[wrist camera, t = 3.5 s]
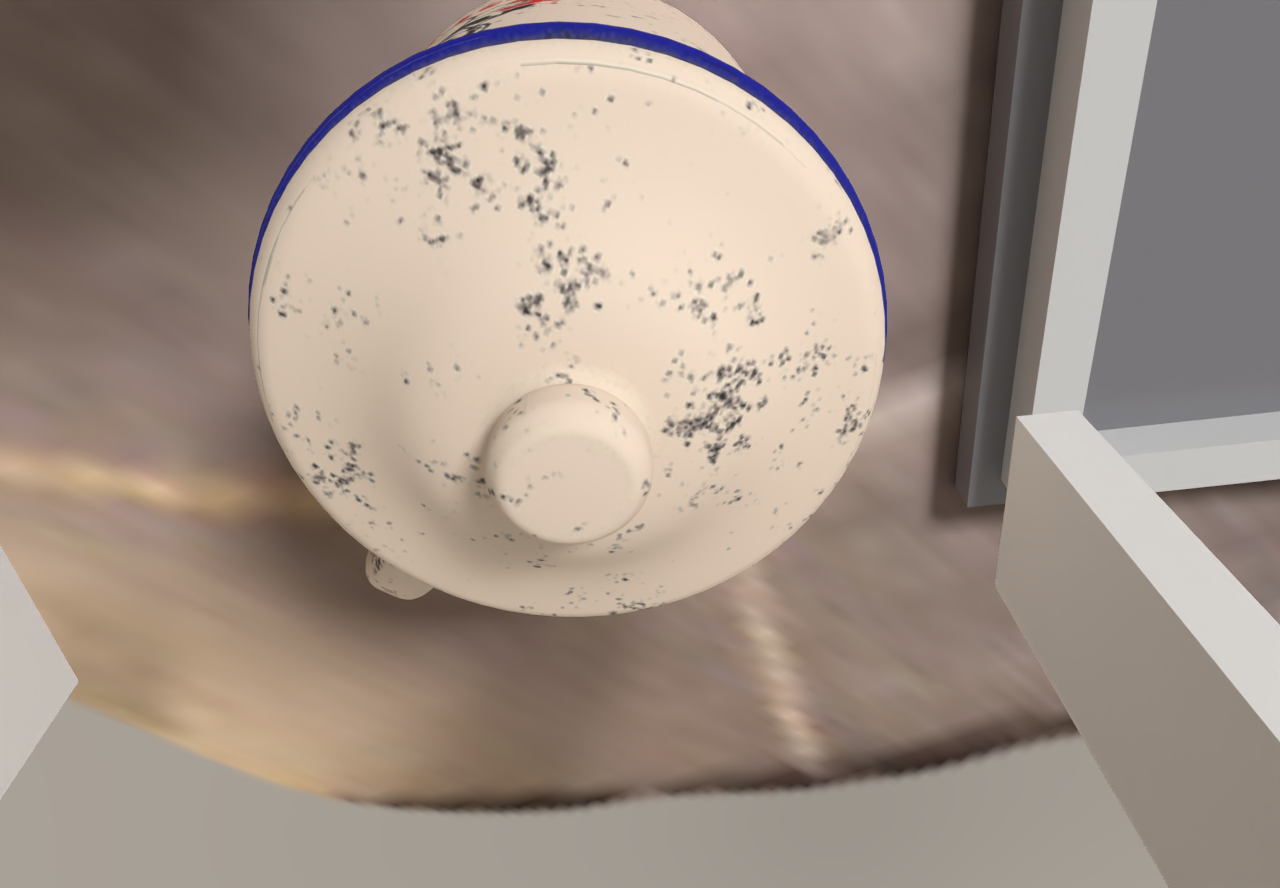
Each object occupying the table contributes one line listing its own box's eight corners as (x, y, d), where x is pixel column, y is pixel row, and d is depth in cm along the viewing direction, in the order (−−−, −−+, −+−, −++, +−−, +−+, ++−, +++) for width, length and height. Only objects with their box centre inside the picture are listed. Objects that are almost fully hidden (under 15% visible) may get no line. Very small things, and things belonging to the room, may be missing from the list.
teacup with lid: (501, -140, 17) (372, -167, 7) (867, 131, 20) (1134, 379, 10) (259, 350, 22) (-13, 732, 12) (580, 511, 25) (571, 925, 15)
